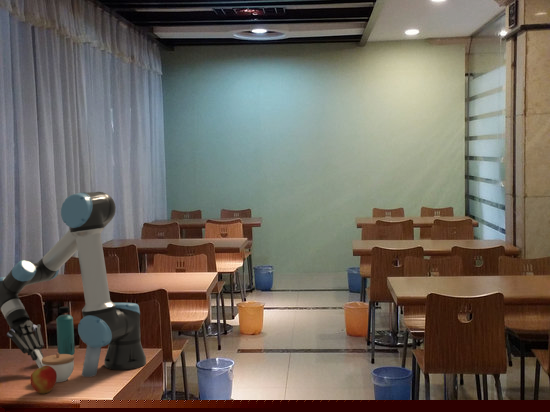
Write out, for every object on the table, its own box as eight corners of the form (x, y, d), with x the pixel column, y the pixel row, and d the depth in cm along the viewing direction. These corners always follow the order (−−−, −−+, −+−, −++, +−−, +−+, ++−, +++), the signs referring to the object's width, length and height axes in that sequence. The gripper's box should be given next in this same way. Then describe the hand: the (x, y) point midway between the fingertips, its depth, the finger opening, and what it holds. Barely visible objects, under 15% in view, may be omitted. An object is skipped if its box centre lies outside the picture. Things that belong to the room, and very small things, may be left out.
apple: (49, 396, 233) (48, 366, 233) (26, 395, 235) (25, 365, 234) (61, 389, 241) (60, 359, 240) (39, 388, 243) (38, 358, 242)
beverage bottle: (72, 360, 278) (70, 308, 277) (55, 360, 278) (53, 308, 277) (77, 355, 285) (75, 305, 284) (60, 356, 285) (58, 305, 284)
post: (98, 375, 259) (104, 342, 258) (91, 378, 254) (97, 346, 253) (86, 371, 260) (92, 339, 259) (79, 375, 256) (85, 342, 255)
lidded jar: (57, 386, 245) (56, 358, 244) (35, 381, 250) (34, 354, 250) (81, 378, 254) (80, 351, 253) (60, 374, 259) (59, 348, 259)
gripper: (27, 317, 275) (54, 368, 265) (-5, 323, 265) (22, 376, 255) (35, 305, 271) (62, 355, 261) (2, 310, 261) (29, 363, 251)
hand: (42, 366), depth 258 cm, fingers closed
